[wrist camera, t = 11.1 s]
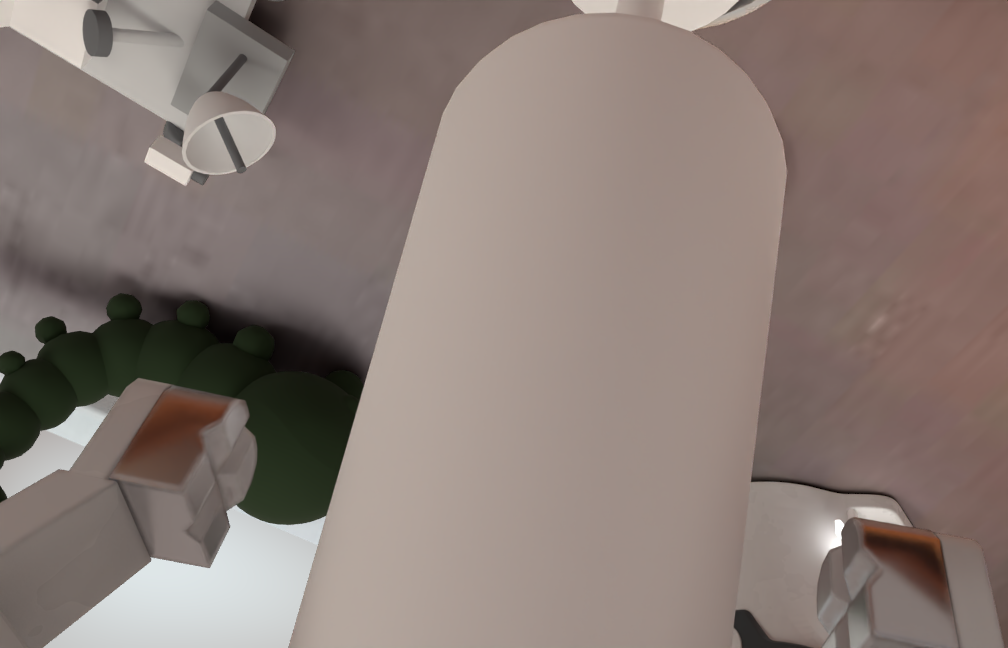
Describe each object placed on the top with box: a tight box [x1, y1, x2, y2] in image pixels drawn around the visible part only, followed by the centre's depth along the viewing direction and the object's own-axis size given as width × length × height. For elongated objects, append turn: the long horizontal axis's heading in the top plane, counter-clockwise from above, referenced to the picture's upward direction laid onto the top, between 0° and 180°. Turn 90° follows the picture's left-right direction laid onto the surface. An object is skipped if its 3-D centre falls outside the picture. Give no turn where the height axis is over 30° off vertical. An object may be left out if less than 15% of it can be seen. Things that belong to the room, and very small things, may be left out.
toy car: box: [0, 0, 295, 186], centre depth 39 cm, size 18×10×12 cm
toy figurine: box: [0, 293, 364, 525], centre depth 53 cm, size 9×19×25 cm
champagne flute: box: [288, 0, 787, 648], centre depth 18 cm, size 7×7×24 cm
